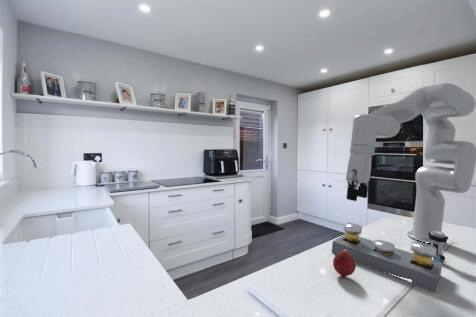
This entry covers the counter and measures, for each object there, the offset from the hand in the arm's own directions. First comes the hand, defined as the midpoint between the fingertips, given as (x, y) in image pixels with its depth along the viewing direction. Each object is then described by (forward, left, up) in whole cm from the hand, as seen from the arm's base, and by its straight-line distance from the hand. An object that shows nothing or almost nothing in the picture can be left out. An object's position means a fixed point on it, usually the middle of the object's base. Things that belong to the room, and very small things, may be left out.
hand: (356, 198), depth 82 cm
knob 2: (0, +20, -16) cm, 25 cm away
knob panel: (0, +10, -19) cm, 22 cm away
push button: (-17, +22, -20) cm, 34 cm away
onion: (+19, +5, -20) cm, 28 cm away
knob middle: (0, +10, -19) cm, 21 cm away
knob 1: (0, 0, -16) cm, 16 cm away
